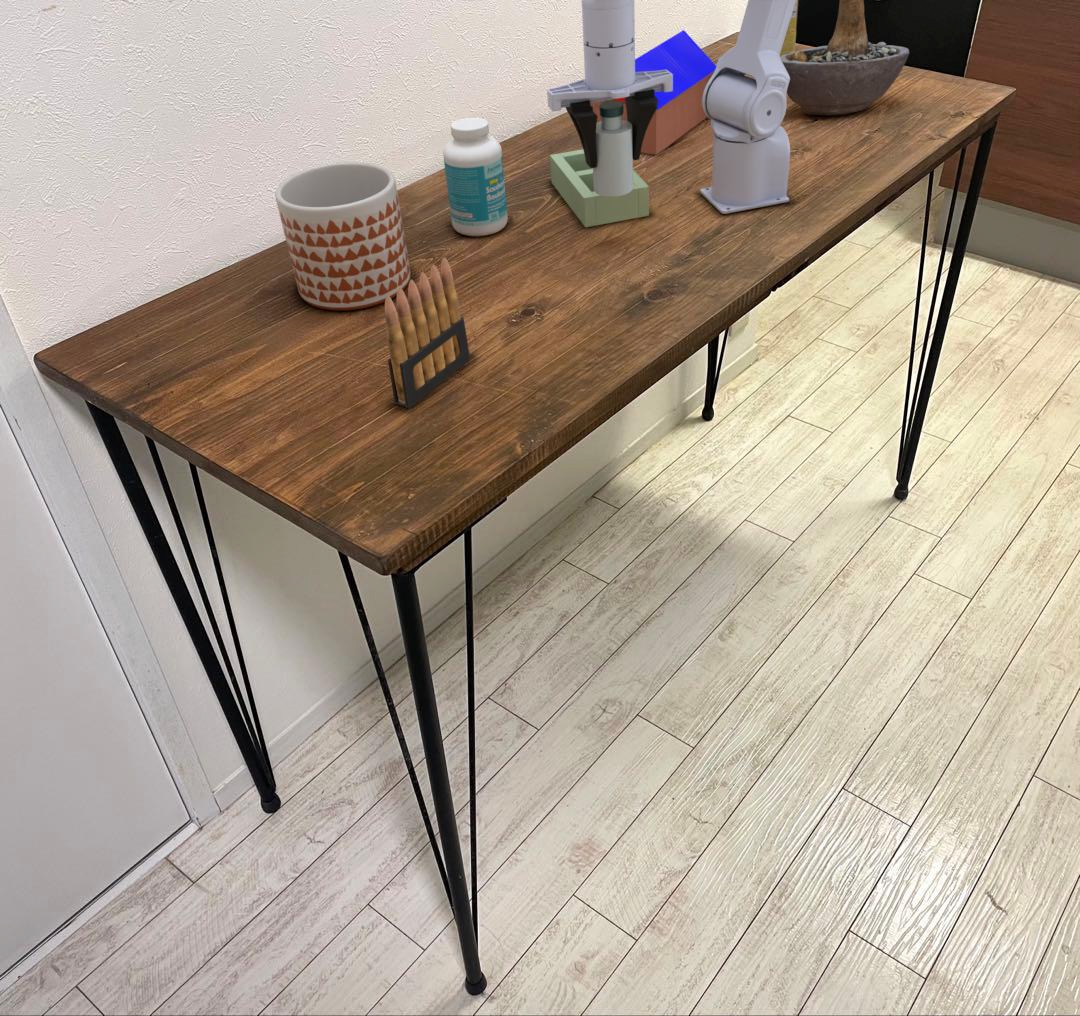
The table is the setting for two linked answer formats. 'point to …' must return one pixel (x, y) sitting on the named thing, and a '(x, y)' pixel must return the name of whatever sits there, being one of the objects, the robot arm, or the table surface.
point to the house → (684, 101)
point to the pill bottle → (475, 179)
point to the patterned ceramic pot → (344, 234)
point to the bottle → (613, 152)
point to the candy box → (790, 33)
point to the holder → (587, 205)
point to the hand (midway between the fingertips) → (612, 161)
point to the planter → (843, 68)
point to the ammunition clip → (425, 336)
